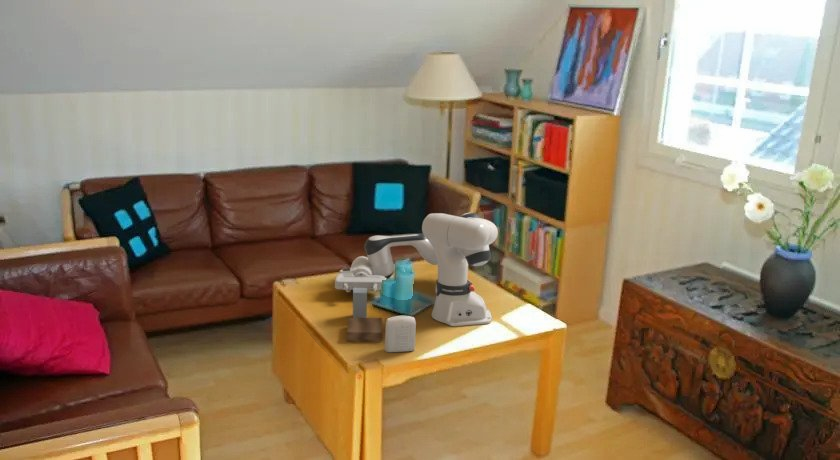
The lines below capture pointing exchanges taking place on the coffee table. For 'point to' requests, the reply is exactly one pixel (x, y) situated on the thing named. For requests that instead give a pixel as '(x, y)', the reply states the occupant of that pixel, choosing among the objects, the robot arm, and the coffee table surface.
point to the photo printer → (400, 334)
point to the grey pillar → (359, 302)
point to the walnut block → (364, 330)
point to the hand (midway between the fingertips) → (360, 290)
